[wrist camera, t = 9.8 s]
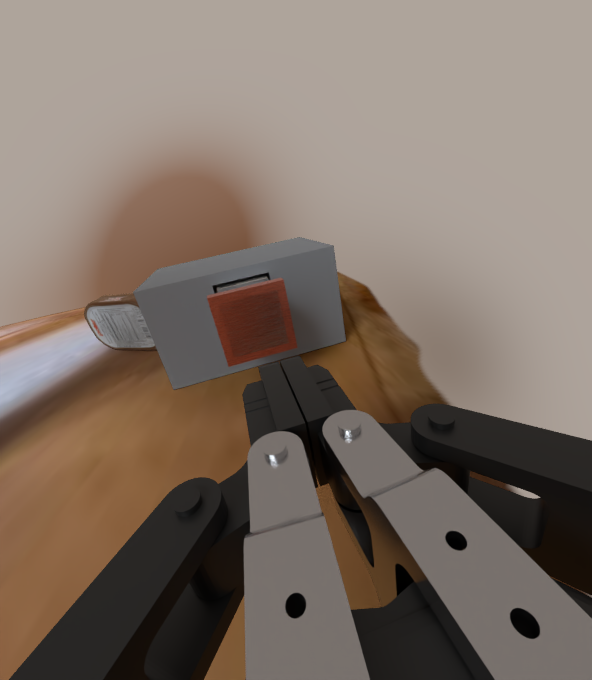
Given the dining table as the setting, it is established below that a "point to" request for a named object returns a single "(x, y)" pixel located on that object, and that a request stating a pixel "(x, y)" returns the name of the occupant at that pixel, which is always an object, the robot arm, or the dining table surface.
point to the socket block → (201, 280)
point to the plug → (252, 318)
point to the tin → (119, 323)
